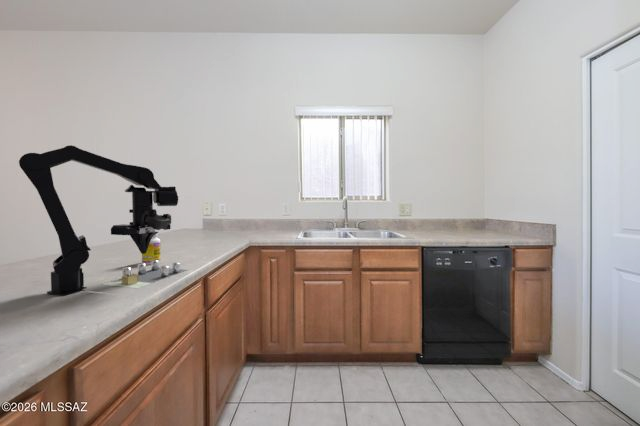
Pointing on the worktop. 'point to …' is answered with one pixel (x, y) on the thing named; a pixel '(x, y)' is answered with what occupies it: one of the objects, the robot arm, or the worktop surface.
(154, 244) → the supplement bottle
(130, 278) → the nut
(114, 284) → the mat
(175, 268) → the spacers
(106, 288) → the worktop surface
